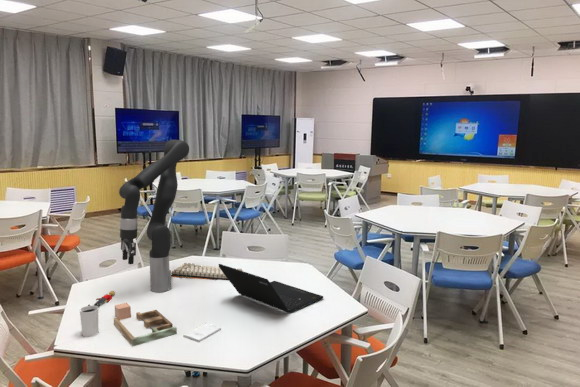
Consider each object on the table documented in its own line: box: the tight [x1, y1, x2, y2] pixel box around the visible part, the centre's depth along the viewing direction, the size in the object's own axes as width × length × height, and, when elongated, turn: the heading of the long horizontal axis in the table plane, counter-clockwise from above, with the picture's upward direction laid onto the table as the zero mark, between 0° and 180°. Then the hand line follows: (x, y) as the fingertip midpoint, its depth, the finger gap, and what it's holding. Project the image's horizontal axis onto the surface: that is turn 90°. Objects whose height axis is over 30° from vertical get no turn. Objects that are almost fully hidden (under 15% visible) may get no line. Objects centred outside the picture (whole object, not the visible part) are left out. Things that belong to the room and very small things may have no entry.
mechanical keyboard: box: [171, 262, 243, 281], centre depth 243 cm, size 38×19×3 cm, turn 80°
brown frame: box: [113, 309, 178, 347], centre depth 175 cm, size 17×23×2 cm
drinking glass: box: [79, 304, 99, 338], centre depth 170 cm, size 7×7×10 cm
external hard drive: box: [183, 322, 222, 343], centre depth 172 cm, size 2×8×12 cm
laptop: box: [218, 263, 324, 313], centre depth 204 cm, size 33×38×19 cm
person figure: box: [87, 290, 116, 307], centre depth 202 cm, size 5×4×18 cm
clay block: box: [114, 302, 132, 321], centre depth 186 cm, size 5×5×5 cm
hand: (127, 261), depth 204 cm, fingers open, 8 cm apart
